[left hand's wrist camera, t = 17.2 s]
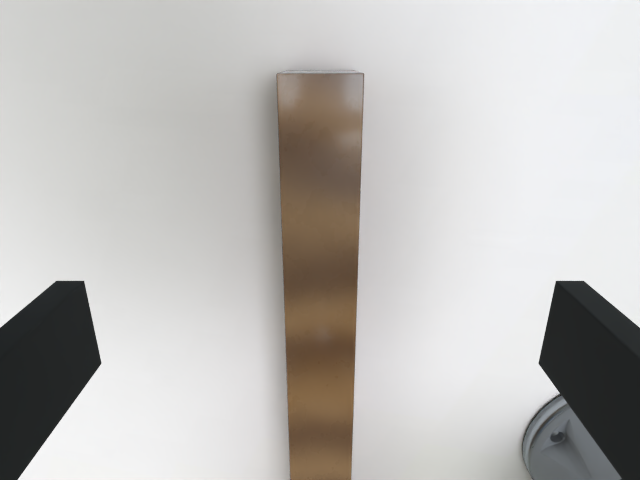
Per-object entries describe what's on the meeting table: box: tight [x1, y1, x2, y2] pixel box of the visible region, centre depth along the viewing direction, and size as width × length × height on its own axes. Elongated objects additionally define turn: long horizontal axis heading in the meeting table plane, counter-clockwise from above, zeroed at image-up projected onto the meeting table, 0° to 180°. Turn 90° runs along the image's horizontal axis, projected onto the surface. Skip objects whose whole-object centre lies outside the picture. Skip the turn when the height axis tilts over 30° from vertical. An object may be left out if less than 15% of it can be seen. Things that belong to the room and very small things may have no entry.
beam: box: [277, 71, 364, 480], centre depth 41 cm, size 55×5×8 cm, turn 0°
